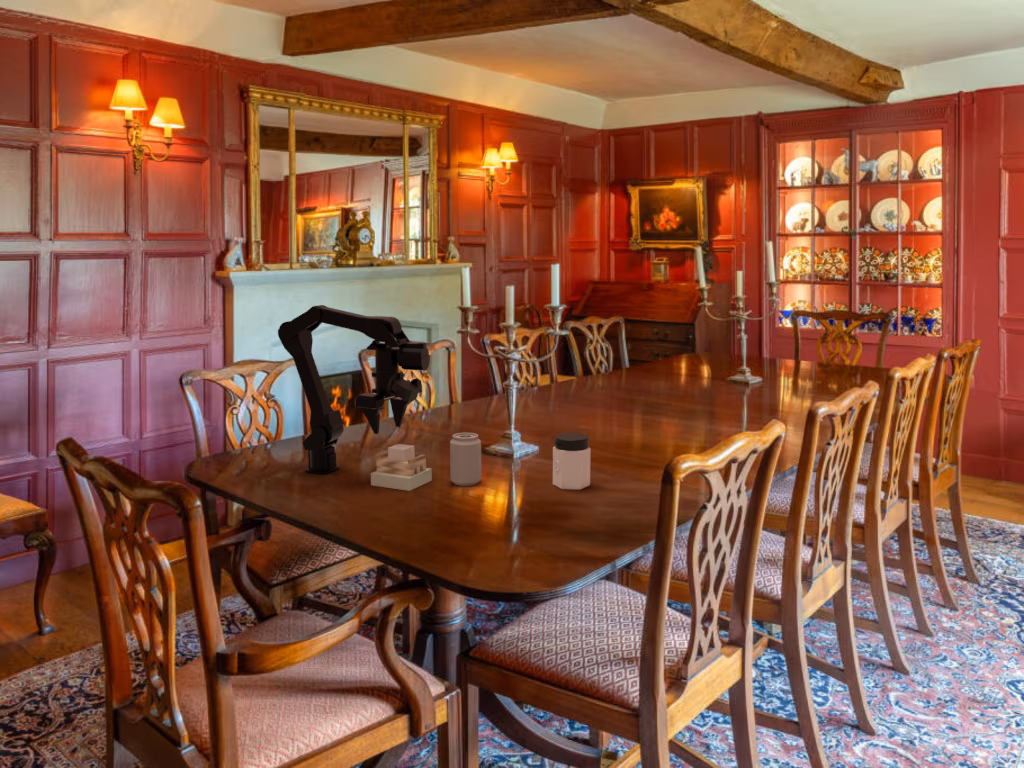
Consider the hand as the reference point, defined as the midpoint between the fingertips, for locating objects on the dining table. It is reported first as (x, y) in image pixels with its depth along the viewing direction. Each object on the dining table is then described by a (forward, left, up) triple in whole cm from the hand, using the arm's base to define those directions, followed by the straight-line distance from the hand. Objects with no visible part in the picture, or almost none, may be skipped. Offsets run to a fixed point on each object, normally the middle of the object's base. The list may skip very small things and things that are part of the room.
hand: (387, 430), depth 212 cm
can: (+21, +3, -12) cm, 24 cm away
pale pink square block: (+7, -4, -6) cm, 10 cm away
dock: (+7, -4, -12) cm, 14 cm away
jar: (+45, +12, -12) cm, 48 cm away
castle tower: (+7, -4, -9) cm, 12 cm away
